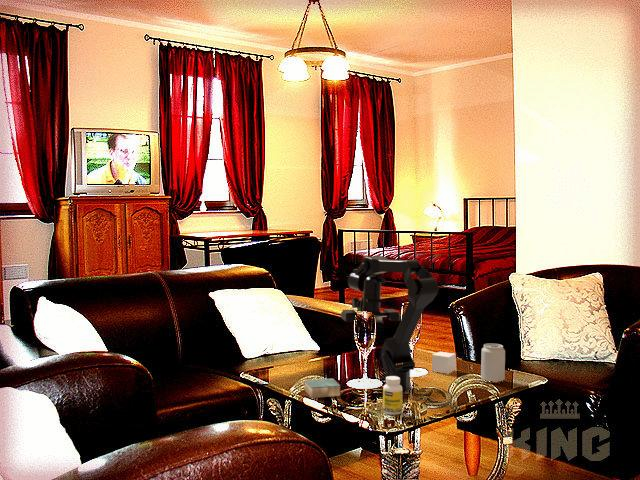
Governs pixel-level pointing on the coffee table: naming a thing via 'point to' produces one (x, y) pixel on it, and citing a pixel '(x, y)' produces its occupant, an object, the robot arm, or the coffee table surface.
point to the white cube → (443, 362)
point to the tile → (322, 388)
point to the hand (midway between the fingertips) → (369, 340)
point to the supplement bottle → (392, 396)
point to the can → (493, 362)
